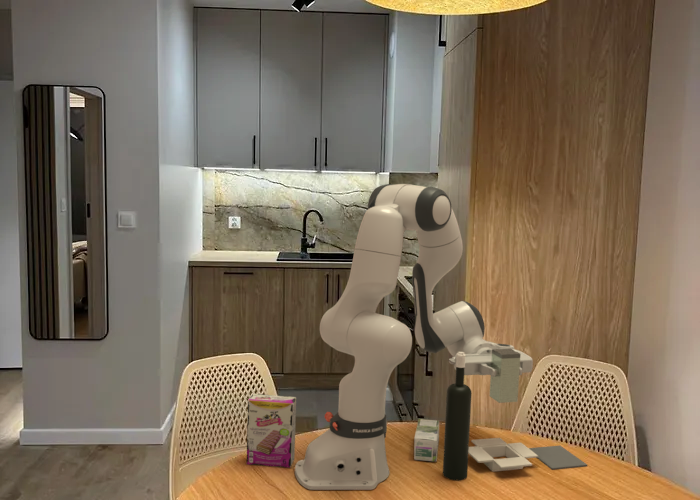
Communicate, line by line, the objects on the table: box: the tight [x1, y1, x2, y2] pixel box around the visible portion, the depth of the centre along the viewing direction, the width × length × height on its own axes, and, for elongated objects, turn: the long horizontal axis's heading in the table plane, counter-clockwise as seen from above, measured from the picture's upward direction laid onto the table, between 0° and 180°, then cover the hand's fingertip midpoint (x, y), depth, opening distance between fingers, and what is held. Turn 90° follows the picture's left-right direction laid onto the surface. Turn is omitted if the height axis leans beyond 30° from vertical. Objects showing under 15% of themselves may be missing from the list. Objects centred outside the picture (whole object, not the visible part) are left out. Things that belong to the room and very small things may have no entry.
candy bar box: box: [246, 393, 297, 469], centre depth 157 cm, size 11×5×16 cm, turn 84°
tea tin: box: [489, 349, 521, 404], centre depth 159 cm, size 5×5×12 cm
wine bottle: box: [442, 352, 472, 481], centre depth 153 cm, size 6×6×30 cm
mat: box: [528, 445, 588, 471], centre depth 166 cm, size 10×12×1 cm
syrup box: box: [413, 418, 440, 462], centre depth 168 cm, size 6×6×14 cm
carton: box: [468, 437, 538, 472], centre depth 161 cm, size 16×16×3 cm
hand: (507, 372), depth 158 cm, fingers closed on tea tin, 5 cm apart
